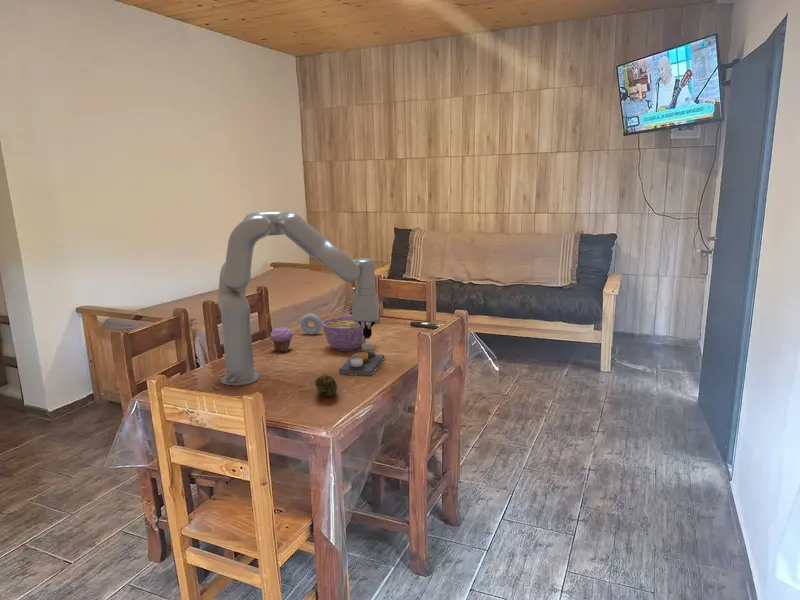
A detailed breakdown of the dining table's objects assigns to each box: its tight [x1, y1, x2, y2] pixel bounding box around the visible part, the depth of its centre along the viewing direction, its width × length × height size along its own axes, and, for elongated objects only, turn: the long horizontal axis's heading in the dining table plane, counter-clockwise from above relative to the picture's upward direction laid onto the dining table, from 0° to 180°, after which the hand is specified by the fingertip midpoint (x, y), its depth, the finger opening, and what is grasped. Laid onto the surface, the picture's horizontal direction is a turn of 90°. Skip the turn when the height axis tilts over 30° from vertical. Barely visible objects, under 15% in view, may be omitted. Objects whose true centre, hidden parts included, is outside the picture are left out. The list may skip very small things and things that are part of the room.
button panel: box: [338, 351, 385, 376], centre depth 212 cm, size 20×12×3 cm, turn 167°
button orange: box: [356, 351, 368, 361], centre depth 211 cm, size 4×4×2 cm
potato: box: [314, 374, 338, 397], centre depth 183 cm, size 8×13×8 cm, turn 172°
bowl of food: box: [321, 315, 368, 352], centre depth 233 cm, size 20×20×12 cm
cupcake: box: [269, 326, 293, 353], centre depth 233 cm, size 9×9×10 cm
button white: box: [351, 358, 363, 367], centre depth 204 cm, size 4×4×2 cm
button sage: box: [361, 342, 374, 352], centre depth 217 cm, size 4×4×2 cm
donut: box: [299, 312, 323, 336], centre depth 256 cm, size 10×4×10 cm, turn 85°
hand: (367, 337), depth 217 cm, fingers closed
